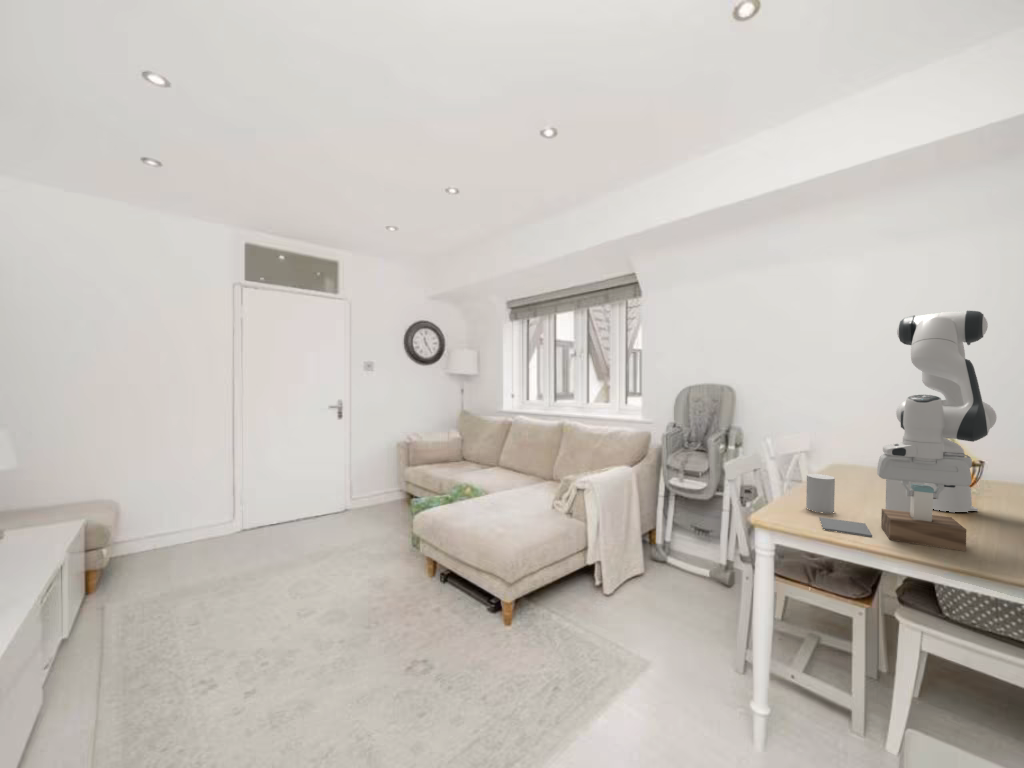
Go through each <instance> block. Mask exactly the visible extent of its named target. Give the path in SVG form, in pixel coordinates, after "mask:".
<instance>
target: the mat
mask: <svg viewBox="0 0 1024 768" xmlns="http://www.w3.org/2000/svg"><path fill="white" fill-rule="evenodd" d="M820 521H821V522H820ZM819 522H820V525H821V524H822V525H821V528H822V527H823V528H822V530H823V529H825V530H824V531H827V530H830V531H829V532H834V531H837V532H836V533H841V532H842V534H849V535H856V536H862V537H868V538H873V534H872V532H871V531H870V529H869V528H868V525H867V524H866V523H865V522H858V521H850V520H845V519H844V520H842V519H836V518H831V517H830V518H828V517H824V516H823V517H821V516H820V517H819Z"/></svg>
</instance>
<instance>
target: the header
mask: <svg viewBox="0 0 1024 768" xmlns="http://www.w3.org/2000/svg"><path fill="white" fill-rule="evenodd" d="M880 517H881V523H880V524H881V525H880V527H881V530H882V531H883V532H884V534H885V535H886V537H887V538H888V540H889V541H897V542H901V543H902V542H903V543H907V544H908V543H909V544H916V545H922V546H927V545H928V546H929V547H935V548H942V549H948V550H953V551H954V550H956V551H963V552H967V529H966V528H965V527H964V526H962V524H960V523H959V522H958V521H957V520H956V519H954V518H953V517H952V516H947V515H945V516H943V515H937V514H936V515H935V514H932V522H930V521H922V520H915V519H912V518H911V517H910V512H905V511H897V510H889V509H886V508H881V516H880Z"/></svg>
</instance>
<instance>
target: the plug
mask: <svg viewBox="0 0 1024 768" xmlns="http://www.w3.org/2000/svg"><path fill="white" fill-rule="evenodd" d="M911 490H913V491H914V493H913V497H912V496H911V502H910V517H911V518H912V519H915V520H922V521H930V522H932V515H933V511H934V510H933V493H934V489H933V488H932V487H931V486H927V485H918V484H911Z"/></svg>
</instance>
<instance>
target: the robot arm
mask: <svg viewBox="0 0 1024 768" xmlns="http://www.w3.org/2000/svg"><path fill="white" fill-rule="evenodd" d="M988 326H989V325H988V320H987V318H986V317H985V315H984V313H982V312H981V311H978V310H966V311H941V312H937V313H935V312H934V313H926V314H921V315H910V316H906V317H904V318H903V319H901V320H900V321H899V324H898V326H897V329H896V335H897V338H898V339H899V341H900V343H902V344H904V345H908V346H910V347H911V348H910V361H911V364H913V366H914V367H915V368H916V369H918V370H919V371H921V381H922V383H923V384H924V386H926V387H927V388H928V389H931V390H933V391H936V392H938V393H940V394H942V395H943V397H944V399H942V398H941V397H939V396H937V395H931V394H915V395H914V394H913V395H910V396H908V397H907V398H906V399H905V400H904V401H902V402H901V403H900V404H899V405H898V406H897V409H896V411H895V412H896V413H895V415H896V418H897V420H898V422H899V424H900V428H901V429H902V430H904V433H903V436H902V442H898V443H893V444H887V445H883V446H882V451H883V453H882V454H881V455H880V456H879V458H878V462H877V468H876V470H877V471H876V474H877V476H878V477H879V478H881V479H882V480H886V479H890V480H901V484H902V485H903V487H904V488H905V489H906V496H912V497H913V493H914V491H913V490H911V489H909V488H908V487H907V485H909V481H912V482H923V483H924V485H927V486H931V487H932V488H933V489H934V493H933V509H934V510H933V511H939V510H940V511H941V512H946V511H949V512H948V513H955V512H967V513H969V512H968V511H977V512H978V511H979V508H977V507H975V506H973V504H972V503H973V500H972V488H971V486H970V485H972V481H973V480H972V471H971V468H972V466H973V459H972V457H971V456H969V455H968V454H965V450H964V448H963V447H962V445H959V444H958V443H956V442H954V441H952V440H949V439H953V440H954V439H955V440H957V441H964V442H972V443H973V442H976V441H977V442H978V440H979V441H980V440H981V439H983V438H985V437H986V436H988V435H989V432H990V430H991V429H992V428H993V427H994V426H995V424H996V422H997V417H998V416H997V413H996V411H995V410H994V408H993V406H991V405H990V404H988V403H986V402H985V401H983V397H982V394H981V389H980V386H979V380H978V377H977V374H976V370H975V366H974V364H973V363H972V362H971V360H970V359H967V358H966V350H965V346H964V343H966V345H967V346H970V345H971V344H972V343H975V342H978V341H980V340H981V339H982V338H984V335H985V334H986V333H987V330H988ZM940 511H939V512H940Z"/></svg>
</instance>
